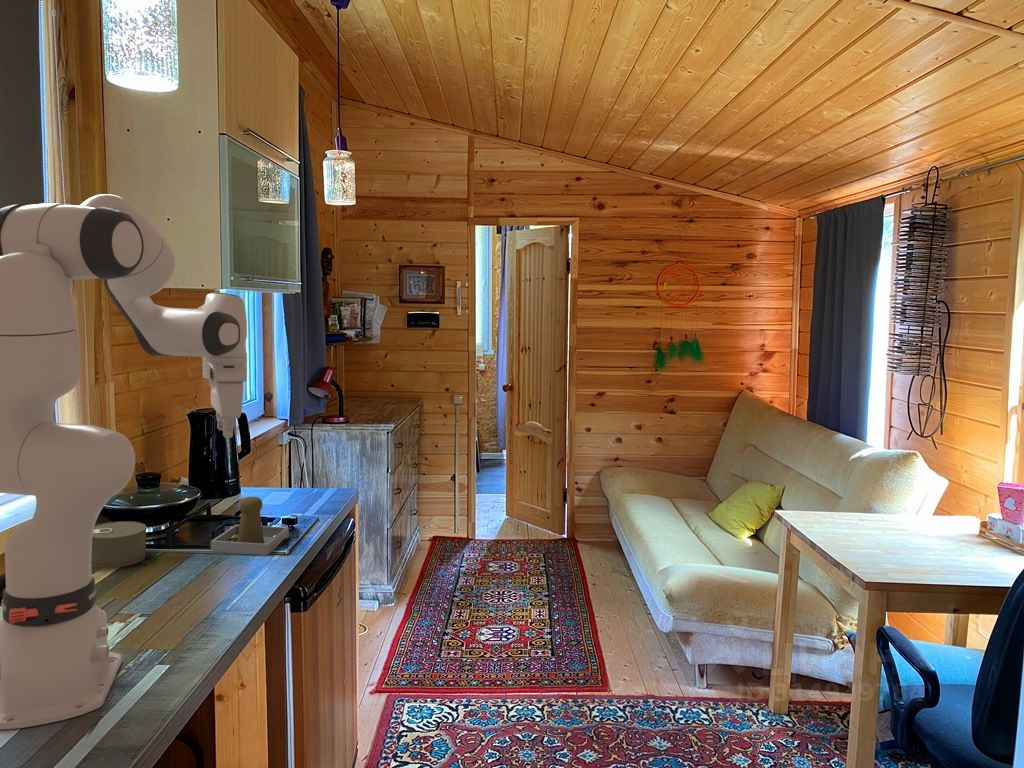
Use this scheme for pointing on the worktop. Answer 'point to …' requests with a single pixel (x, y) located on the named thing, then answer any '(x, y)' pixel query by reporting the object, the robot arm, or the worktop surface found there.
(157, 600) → the worktop surface
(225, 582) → the worktop surface
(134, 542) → the can
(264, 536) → the tray
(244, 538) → the cork
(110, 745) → the worktop surface
